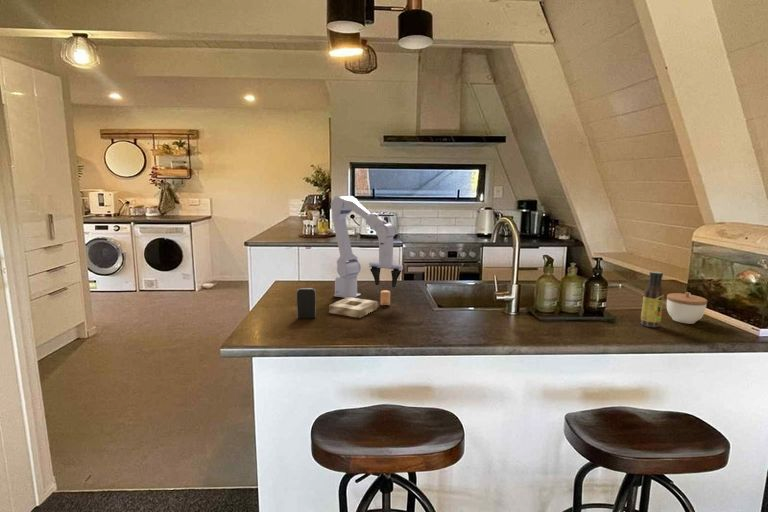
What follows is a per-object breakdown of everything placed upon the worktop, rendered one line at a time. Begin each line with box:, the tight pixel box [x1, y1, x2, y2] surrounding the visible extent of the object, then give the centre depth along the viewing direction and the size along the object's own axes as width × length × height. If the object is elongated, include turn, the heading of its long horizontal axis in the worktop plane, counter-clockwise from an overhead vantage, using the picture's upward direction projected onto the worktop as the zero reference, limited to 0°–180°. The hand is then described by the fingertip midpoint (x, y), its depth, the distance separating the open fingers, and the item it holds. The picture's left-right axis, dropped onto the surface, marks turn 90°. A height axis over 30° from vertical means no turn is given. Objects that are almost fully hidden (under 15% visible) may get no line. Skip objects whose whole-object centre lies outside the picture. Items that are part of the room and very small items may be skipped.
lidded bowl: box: [666, 291, 708, 325], centre depth 168 cm, size 13×13×11 cm
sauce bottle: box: [640, 270, 665, 328], centre depth 161 cm, size 6×6×20 cm
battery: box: [296, 287, 317, 320], centre depth 166 cm, size 7×4×11 cm, turn 95°
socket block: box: [328, 297, 379, 319], centre depth 176 cm, size 14×14×3 cm
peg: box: [380, 289, 391, 306], centre depth 185 cm, size 4×4×6 cm
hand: (385, 285), depth 184 cm, fingers open, 7 cm apart
